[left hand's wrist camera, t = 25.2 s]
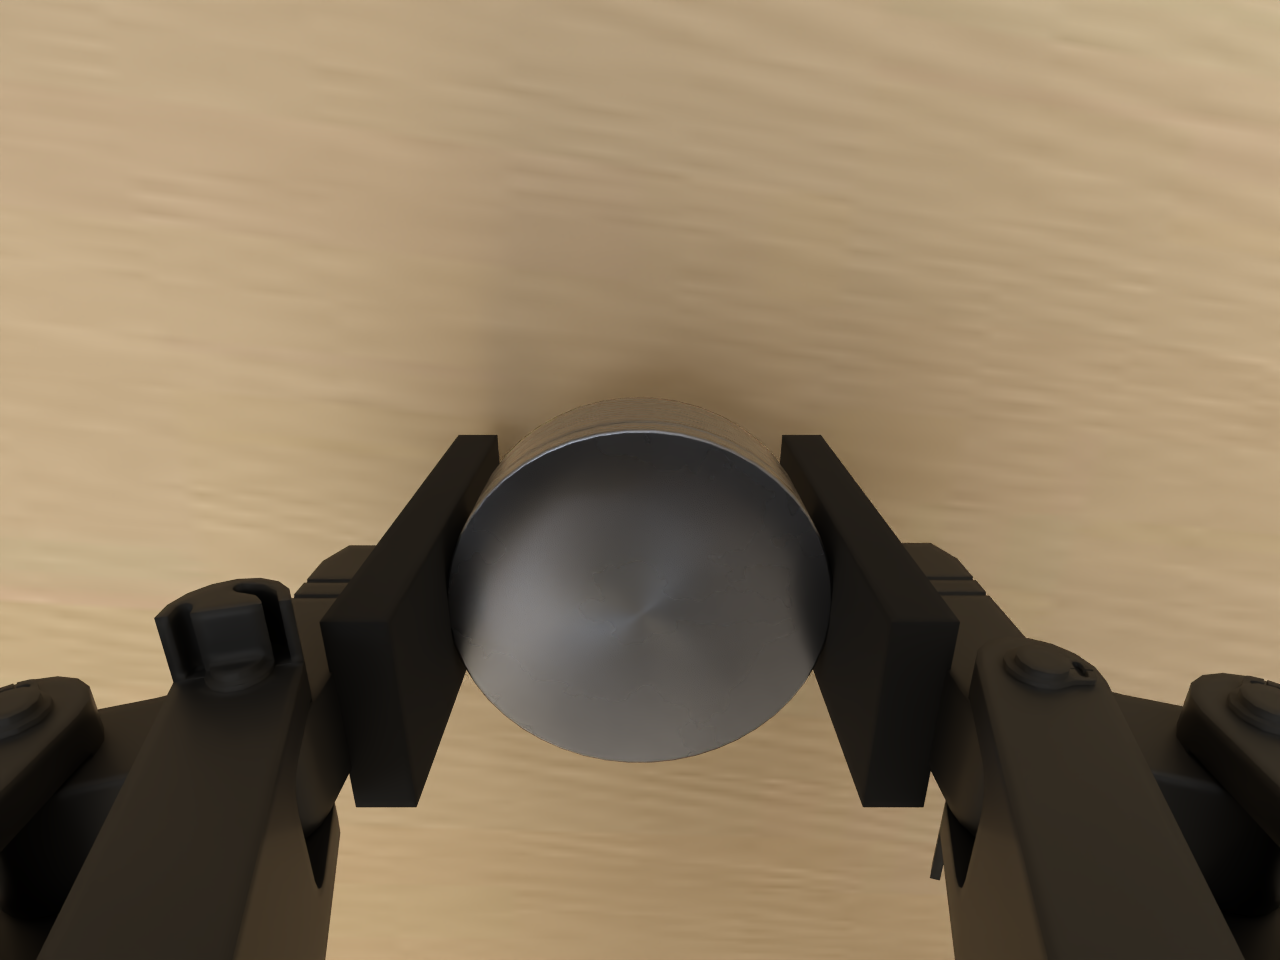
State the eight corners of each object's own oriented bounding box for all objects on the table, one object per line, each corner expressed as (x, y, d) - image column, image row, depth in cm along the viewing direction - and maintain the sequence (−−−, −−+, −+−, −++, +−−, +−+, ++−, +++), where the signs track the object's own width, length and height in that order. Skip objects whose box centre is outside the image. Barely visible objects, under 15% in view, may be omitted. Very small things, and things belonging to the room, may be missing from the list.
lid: (878, 516, 12) (915, 567, 10) (680, 742, 13) (686, 814, 12) (586, 323, 10) (578, 346, 9) (412, 599, 12) (379, 658, 11)
